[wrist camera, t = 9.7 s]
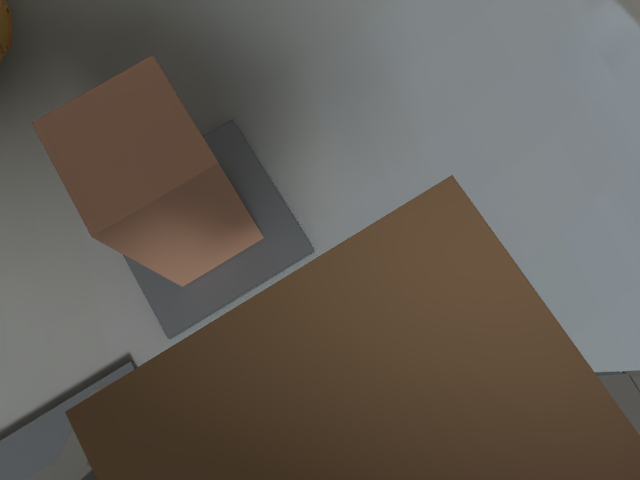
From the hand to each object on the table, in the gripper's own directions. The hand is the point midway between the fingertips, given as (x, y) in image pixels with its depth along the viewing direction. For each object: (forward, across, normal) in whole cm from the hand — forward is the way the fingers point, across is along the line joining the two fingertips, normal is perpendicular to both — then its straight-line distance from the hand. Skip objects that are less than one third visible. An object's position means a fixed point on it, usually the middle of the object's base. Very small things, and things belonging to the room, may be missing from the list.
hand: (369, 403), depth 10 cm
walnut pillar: (+3, 0, +4) cm, 5 cm away
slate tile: (+18, +7, +6) cm, 20 cm away
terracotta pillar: (+17, +7, +6) cm, 20 cm away
